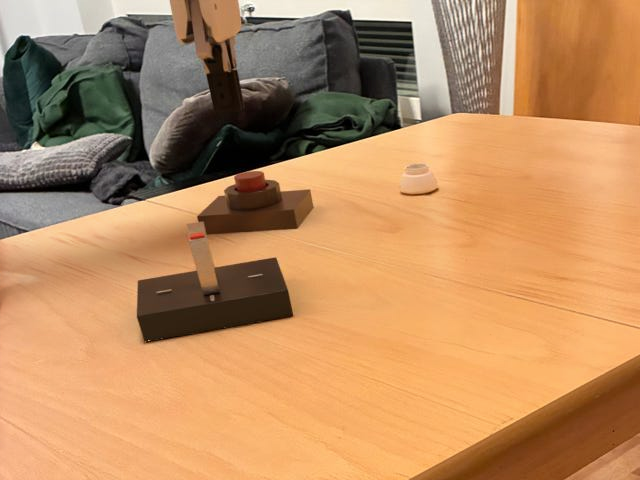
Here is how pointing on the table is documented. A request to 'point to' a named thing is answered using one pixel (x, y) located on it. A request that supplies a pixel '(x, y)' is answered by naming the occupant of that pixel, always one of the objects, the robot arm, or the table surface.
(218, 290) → the grey switch lever
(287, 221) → the button block
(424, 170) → the white jar
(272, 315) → the lever switch base
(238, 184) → the button
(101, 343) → the table surface
